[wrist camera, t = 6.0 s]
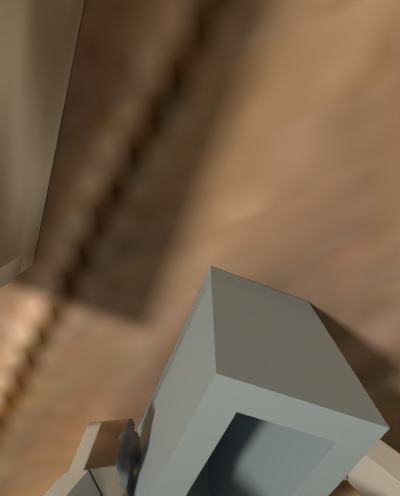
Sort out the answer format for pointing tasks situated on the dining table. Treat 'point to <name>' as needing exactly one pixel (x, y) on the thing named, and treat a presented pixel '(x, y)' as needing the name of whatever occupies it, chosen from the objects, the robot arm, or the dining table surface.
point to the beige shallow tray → (30, 116)
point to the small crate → (253, 401)
